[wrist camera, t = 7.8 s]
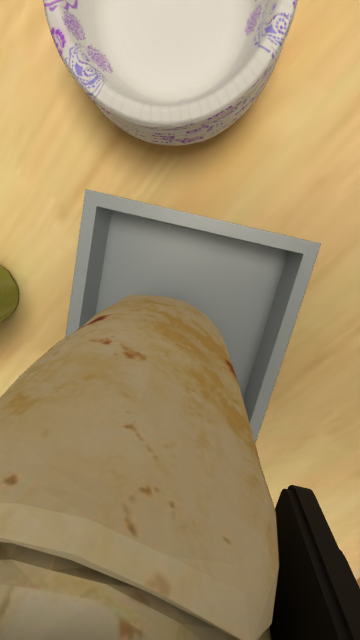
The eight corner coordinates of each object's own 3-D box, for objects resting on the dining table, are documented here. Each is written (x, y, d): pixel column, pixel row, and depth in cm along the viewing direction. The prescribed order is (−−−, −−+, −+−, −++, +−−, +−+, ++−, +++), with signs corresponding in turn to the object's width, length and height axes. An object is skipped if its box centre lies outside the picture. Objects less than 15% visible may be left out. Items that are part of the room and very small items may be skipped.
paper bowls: (46, 39, 26) (-20, -46, 18) (194, -122, 23) (191, -307, 15) (163, 195, 28) (149, 179, 20) (311, 67, 25) (360, -8, 17)
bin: (300, 242, 28) (321, 243, 23) (245, 416, 33) (254, 447, 28) (105, 197, 28) (85, 189, 24) (77, 377, 33) (56, 401, 28)
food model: (96, 323, 23) (-394, 724, 4) (159, 259, 22) (-129, 397, 3) (188, 410, 25) (154, 1027, 5) (253, 355, 23) (527, 920, 4)
